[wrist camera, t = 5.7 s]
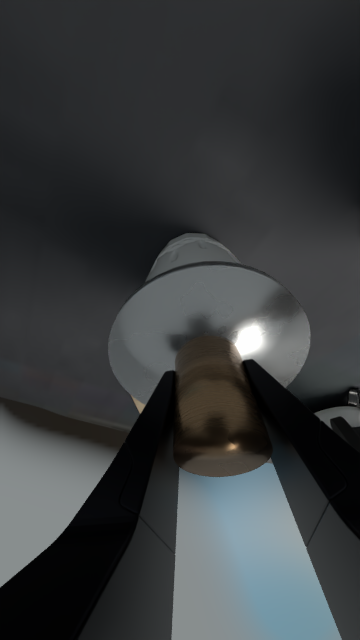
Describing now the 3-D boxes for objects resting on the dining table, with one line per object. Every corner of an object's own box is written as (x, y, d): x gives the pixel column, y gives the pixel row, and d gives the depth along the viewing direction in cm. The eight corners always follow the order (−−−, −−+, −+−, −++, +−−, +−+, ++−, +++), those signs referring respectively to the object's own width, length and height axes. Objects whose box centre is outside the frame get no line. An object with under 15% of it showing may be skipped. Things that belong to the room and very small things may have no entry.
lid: (316, 236, 7) (464, 299, 4) (295, 397, 12) (348, 497, 8) (76, 287, 8) (-10, 378, 5) (144, 417, 13) (130, 514, 9)
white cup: (194, 321, 23) (204, 403, 14) (132, 275, 20) (99, 345, 12) (253, 266, 19) (310, 331, 11) (189, 202, 17) (201, 225, 8)
